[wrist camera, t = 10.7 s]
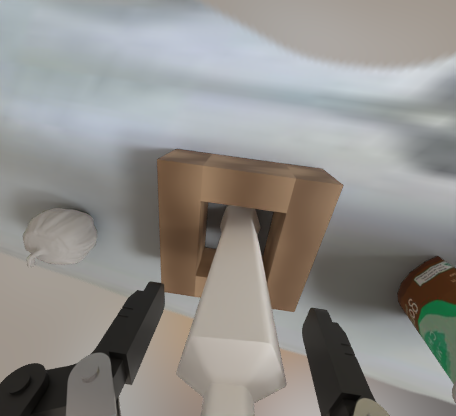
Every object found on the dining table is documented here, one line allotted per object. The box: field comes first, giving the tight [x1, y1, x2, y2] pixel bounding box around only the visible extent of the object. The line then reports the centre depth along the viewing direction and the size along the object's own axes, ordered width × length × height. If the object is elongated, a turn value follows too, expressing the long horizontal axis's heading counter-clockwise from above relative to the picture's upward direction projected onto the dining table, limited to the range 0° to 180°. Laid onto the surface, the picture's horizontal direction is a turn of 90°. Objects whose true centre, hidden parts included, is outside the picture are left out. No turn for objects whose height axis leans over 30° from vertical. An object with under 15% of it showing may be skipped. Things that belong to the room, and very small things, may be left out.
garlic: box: [23, 208, 97, 267], centre depth 19 cm, size 6×5×5 cm
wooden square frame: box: [157, 149, 343, 312], centre depth 17 cm, size 12×12×4 cm
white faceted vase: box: [176, 205, 286, 416], centre depth 12 cm, size 5×4×15 cm
